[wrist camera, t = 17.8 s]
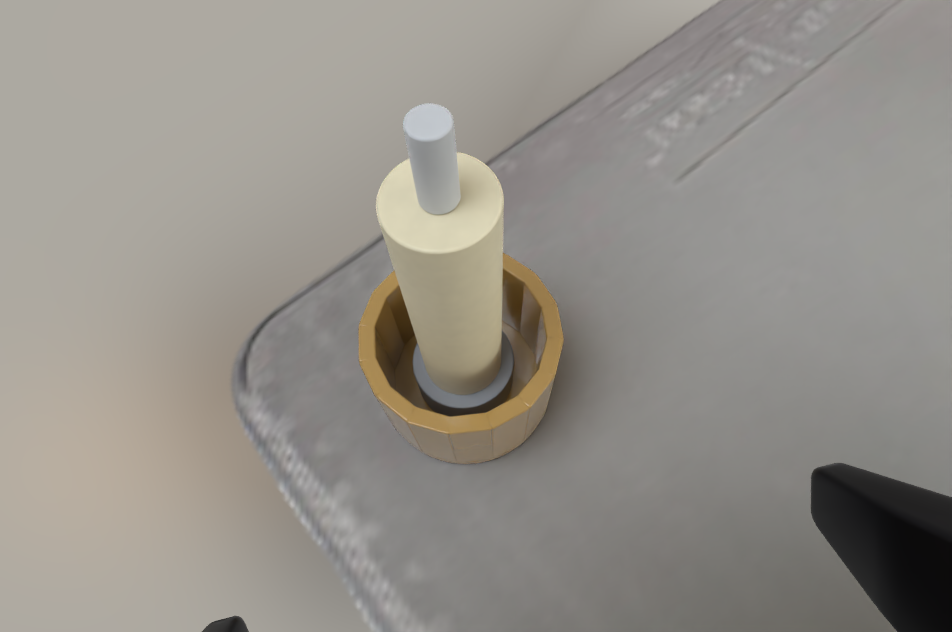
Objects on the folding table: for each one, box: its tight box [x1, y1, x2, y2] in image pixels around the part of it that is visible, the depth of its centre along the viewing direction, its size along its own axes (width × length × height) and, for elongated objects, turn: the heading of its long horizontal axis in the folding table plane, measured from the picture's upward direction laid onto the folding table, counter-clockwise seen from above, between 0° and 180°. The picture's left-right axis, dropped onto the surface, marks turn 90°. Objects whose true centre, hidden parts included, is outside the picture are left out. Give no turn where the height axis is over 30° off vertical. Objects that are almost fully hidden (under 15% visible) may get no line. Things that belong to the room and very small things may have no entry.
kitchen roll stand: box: [376, 103, 514, 417], centre depth 17 cm, size 4×4×14 cm
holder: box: [358, 253, 564, 464], centre depth 22 cm, size 7×7×5 cm
